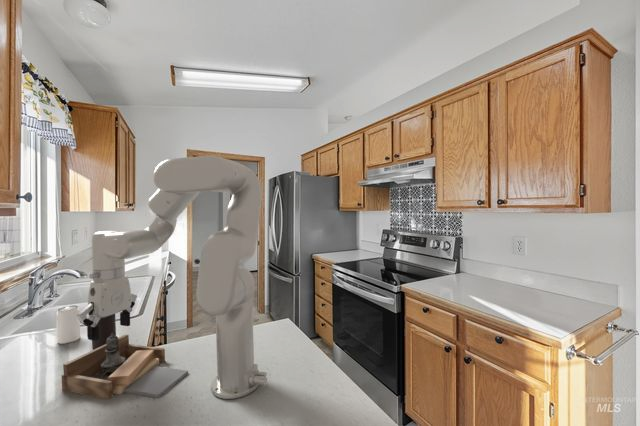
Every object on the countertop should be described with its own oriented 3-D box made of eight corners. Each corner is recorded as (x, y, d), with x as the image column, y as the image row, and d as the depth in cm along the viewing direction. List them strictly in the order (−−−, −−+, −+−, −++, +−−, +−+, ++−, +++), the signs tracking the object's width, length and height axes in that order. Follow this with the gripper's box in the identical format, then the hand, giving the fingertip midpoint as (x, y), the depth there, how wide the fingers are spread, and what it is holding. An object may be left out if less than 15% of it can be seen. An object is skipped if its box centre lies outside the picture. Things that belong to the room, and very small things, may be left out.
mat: (188, 373, 84) (188, 370, 84) (158, 397, 74) (158, 394, 74) (156, 368, 87) (156, 366, 87) (123, 391, 77) (123, 388, 77)
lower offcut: (159, 366, 90) (158, 358, 89) (120, 396, 76) (120, 386, 76) (144, 365, 90) (144, 357, 90) (104, 394, 77) (104, 384, 77)
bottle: (116, 347, 101) (114, 290, 101) (91, 353, 97) (89, 294, 97) (116, 340, 107) (114, 286, 106) (93, 345, 103) (90, 289, 102)
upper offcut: (154, 357, 90) (153, 349, 90) (129, 385, 76) (128, 375, 76) (136, 358, 90) (136, 350, 90) (108, 386, 76) (108, 377, 76)
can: (77, 334, 112) (76, 303, 112) (83, 339, 108) (81, 307, 108) (55, 341, 107) (53, 308, 106) (60, 346, 103) (58, 312, 103)
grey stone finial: (113, 380, 82) (111, 338, 81) (95, 378, 83) (93, 336, 82) (130, 369, 87) (129, 329, 87) (114, 367, 88) (112, 328, 88)
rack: (165, 361, 91) (164, 339, 91) (108, 398, 74) (107, 371, 74) (124, 355, 96) (123, 334, 95) (62, 389, 78) (61, 364, 78)
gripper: (88, 282, 75) (89, 348, 75) (144, 268, 92) (145, 322, 92) (66, 280, 77) (68, 344, 77) (125, 266, 94) (126, 319, 94)
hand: (110, 332), depth 85 cm, fingers open, 9 cm apart
